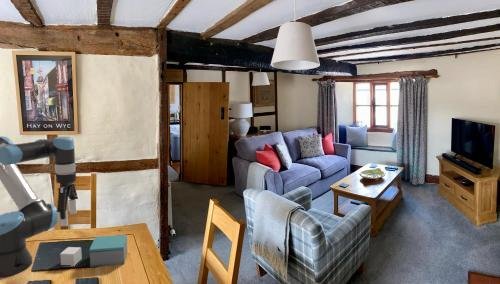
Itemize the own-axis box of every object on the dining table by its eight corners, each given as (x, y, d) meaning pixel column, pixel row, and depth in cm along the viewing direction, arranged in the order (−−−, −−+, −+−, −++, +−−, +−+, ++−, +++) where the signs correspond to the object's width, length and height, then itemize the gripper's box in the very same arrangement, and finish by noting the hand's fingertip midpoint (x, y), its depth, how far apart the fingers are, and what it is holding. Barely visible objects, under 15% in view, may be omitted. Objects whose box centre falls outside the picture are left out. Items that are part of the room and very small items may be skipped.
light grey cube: (81, 259, 146) (81, 247, 146) (74, 266, 141) (73, 254, 140) (69, 259, 147) (68, 246, 146) (61, 266, 141) (60, 253, 140)
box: (90, 267, 140) (89, 252, 139) (96, 253, 152) (95, 240, 150) (124, 263, 144) (123, 249, 143) (127, 250, 155) (126, 237, 154)
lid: (89, 251, 139) (89, 249, 139) (95, 238, 151) (95, 236, 150) (123, 249, 142) (123, 247, 142) (126, 236, 154) (126, 234, 154)
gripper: (66, 180, 126) (70, 230, 129) (82, 165, 150) (85, 208, 153) (45, 181, 124) (49, 232, 127) (64, 166, 148) (67, 209, 151)
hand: (68, 219), depth 140 cm, fingers open, 13 cm apart
